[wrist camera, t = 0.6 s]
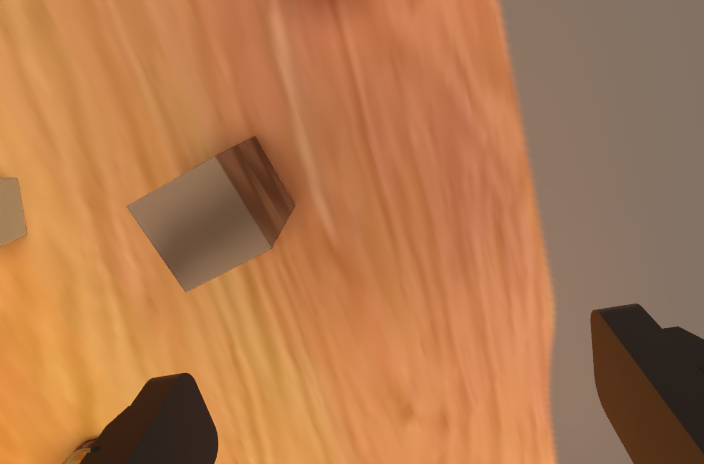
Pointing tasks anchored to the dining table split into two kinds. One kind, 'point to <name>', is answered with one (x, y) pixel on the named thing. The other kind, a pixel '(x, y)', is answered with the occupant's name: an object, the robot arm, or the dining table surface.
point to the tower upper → (209, 219)
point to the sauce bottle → (79, 453)
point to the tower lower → (267, 177)
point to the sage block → (11, 211)
